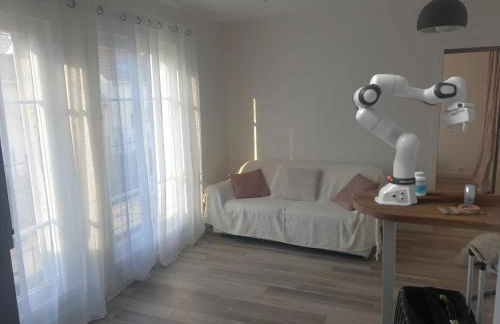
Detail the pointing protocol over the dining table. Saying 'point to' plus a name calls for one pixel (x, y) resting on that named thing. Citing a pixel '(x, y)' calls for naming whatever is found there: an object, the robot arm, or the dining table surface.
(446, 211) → the gauge board
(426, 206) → the dining table surface
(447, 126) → the robot arm
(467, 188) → the steel peg
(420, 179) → the pill bottle
